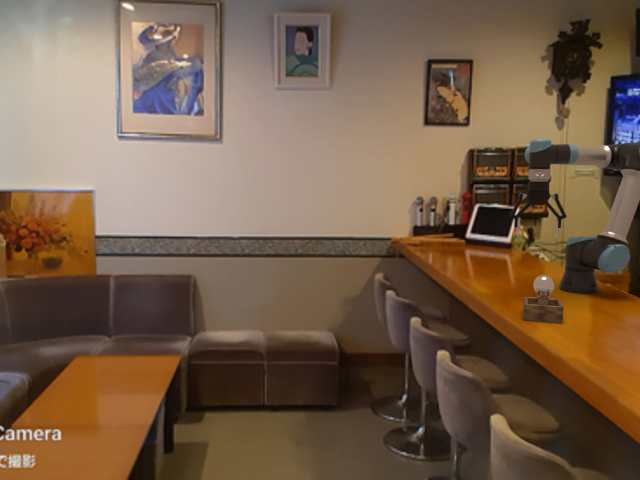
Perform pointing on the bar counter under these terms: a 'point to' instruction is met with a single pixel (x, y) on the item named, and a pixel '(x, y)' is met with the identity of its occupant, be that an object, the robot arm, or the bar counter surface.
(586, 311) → the bar counter surface
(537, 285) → the light bulb
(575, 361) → the bar counter surface
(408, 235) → the bar counter surface
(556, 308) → the walnut box
